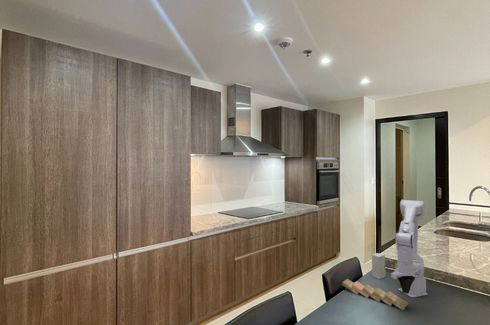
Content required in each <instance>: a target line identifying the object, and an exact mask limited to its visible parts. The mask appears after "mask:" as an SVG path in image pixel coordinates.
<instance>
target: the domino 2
mask: <svg viewBox="0 0 490 325" xmlns="http://www.w3.org/2000/svg"><path fill="white" fill-rule="evenodd" d="M353 283H354V284H352V288H354V289H355V290H356V291H358V292H359V294H361V295H362V296H364V297H365V298H367V299H368V298H369V297H370V296H369V295H368V294H366V293H365V292H363V291H362V289H363V287H365V286H366V285H364V284H363V283H361V282H359V281H355V282H353Z"/></svg>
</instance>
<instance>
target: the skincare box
mask: <svg viewBox="0 0 490 325" xmlns="http://www.w3.org/2000/svg"><path fill="white" fill-rule="evenodd" d="M371 272H372V274H371V275H372V278H375V279H378V280H381V279H384V278H386V255H385V254H384V253H380V252H377V253H372V254H371Z"/></svg>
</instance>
